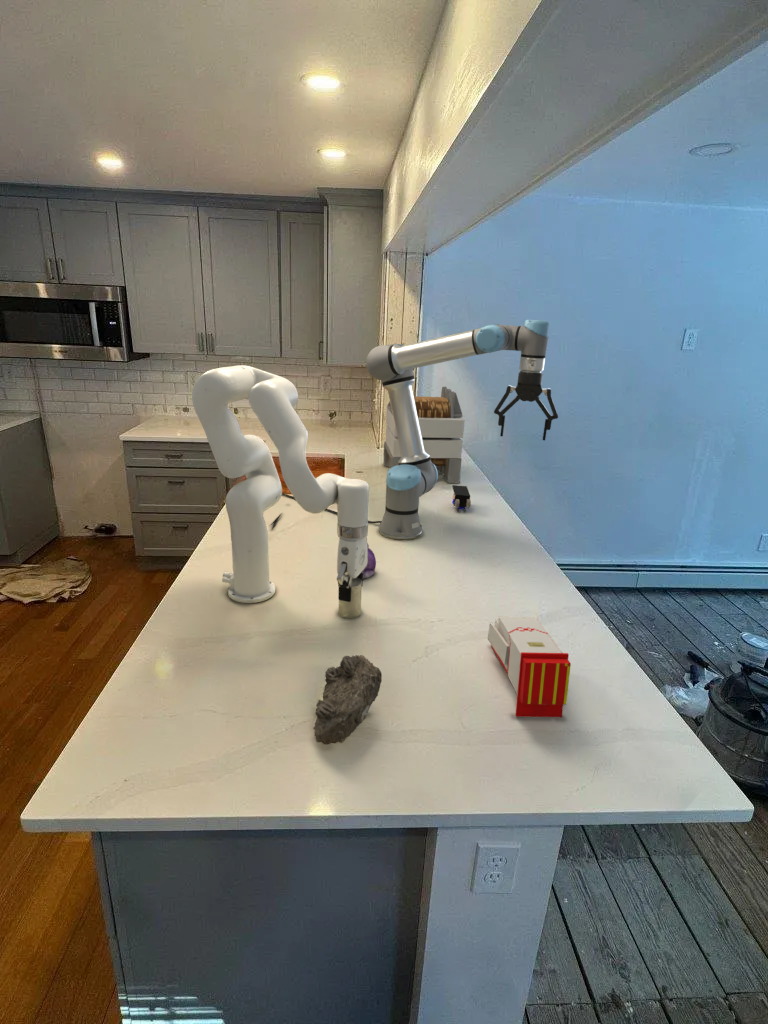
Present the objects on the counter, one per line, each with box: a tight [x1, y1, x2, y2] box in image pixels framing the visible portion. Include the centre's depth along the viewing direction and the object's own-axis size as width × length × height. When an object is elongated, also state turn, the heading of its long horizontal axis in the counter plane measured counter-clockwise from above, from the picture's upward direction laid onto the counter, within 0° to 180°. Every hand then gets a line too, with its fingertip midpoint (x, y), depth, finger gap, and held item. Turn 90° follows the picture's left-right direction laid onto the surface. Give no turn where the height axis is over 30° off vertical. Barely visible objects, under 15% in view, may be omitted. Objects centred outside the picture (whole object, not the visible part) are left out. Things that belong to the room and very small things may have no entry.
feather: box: [270, 513, 282, 529], centre depth 210 cm, size 2×28×2 cm
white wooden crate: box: [383, 386, 465, 484], centre depth 268 cm, size 34×33×41 cm
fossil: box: [312, 654, 383, 746], centre depth 110 cm, size 22×10×15 cm
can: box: [338, 577, 363, 619], centre depth 146 cm, size 6×6×9 cm
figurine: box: [361, 542, 377, 579], centre depth 166 cm, size 9×10×15 cm
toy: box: [487, 616, 572, 718], centre depth 123 cm, size 12×13×30 cm
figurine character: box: [451, 484, 472, 513], centre depth 228 cm, size 7×8×15 cm
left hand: (350, 592), depth 145 cm, fingers open, 7 cm apart
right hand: (522, 437), depth 186 cm, fingers open, 13 cm apart
